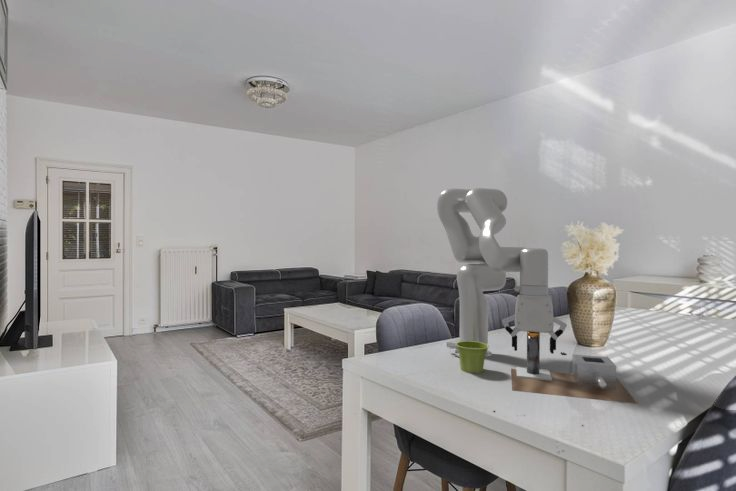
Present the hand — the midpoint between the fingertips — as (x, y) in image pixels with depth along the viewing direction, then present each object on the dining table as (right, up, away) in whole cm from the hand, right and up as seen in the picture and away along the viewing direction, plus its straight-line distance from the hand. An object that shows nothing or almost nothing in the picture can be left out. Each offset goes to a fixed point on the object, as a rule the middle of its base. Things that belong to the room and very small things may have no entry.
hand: (533, 351), depth 121 cm
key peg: (0, -6, 0) cm, 6 cm away
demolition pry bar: (+20, -9, +16) cm, 27 cm away
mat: (0, -7, 0) cm, 7 cm away
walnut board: (+6, -8, -8) cm, 13 cm away
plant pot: (-16, -8, +4) cm, 19 cm away
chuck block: (+12, -7, -10) cm, 17 cm away
